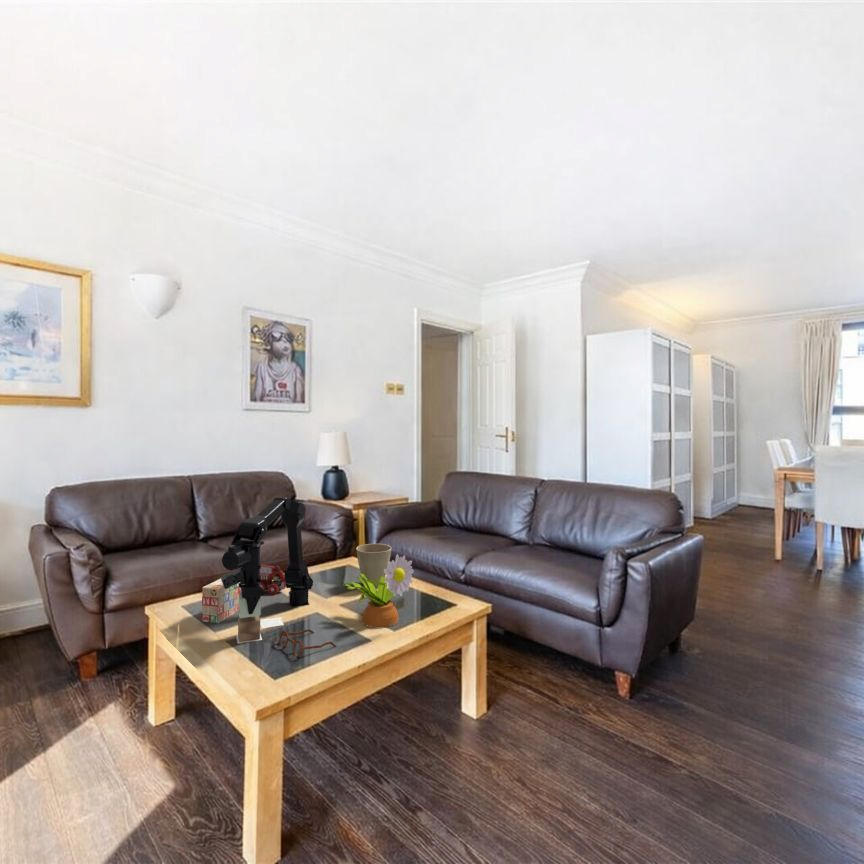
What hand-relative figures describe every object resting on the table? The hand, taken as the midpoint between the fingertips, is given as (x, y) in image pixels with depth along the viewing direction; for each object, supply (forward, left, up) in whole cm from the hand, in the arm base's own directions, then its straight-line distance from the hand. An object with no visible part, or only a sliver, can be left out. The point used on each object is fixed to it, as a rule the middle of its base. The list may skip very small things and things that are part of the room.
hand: (249, 610), depth 156 cm
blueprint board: (-3, -3, -9) cm, 10 cm away
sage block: (0, 0, -1) cm, 1 cm away
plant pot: (-53, -35, -9) cm, 64 cm away
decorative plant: (-44, 0, -9) cm, 45 cm away
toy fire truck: (-12, -42, -9) cm, 45 cm away
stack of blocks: (+5, -25, -9) cm, 27 cm away
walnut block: (0, 0, -8) cm, 8 cm away
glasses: (-16, +12, -10) cm, 22 cm away
